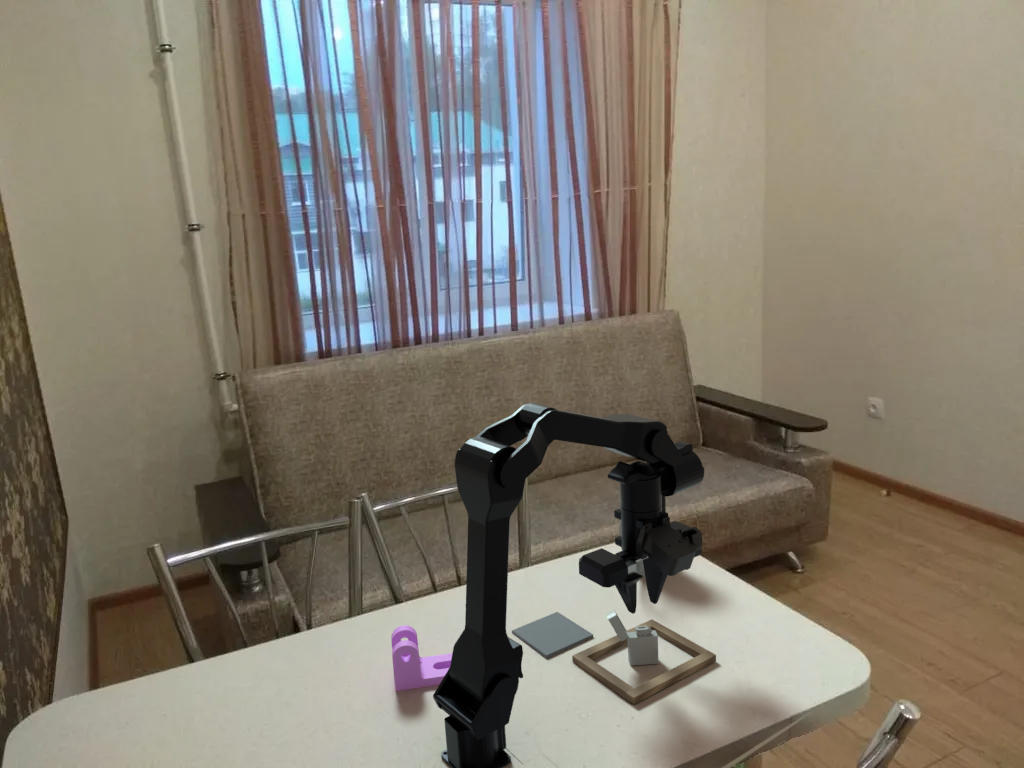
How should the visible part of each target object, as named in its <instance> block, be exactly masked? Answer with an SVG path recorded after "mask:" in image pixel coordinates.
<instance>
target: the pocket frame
mask: <svg viewBox="0 0 1024 768" xmlns="http://www.w3.org/2000/svg"><path fill="white" fill-rule="evenodd" d="M637 626H648V627H650V628H651V629H652V630H655V631H656V633H657V635H658V637H661V638H662V639H664V640H666V641H667V642H668V643H670V644H672V645H674V647H675V646H676V647H677V648H679V649H681V650H682V651H684V652H685V653H687V654H689V655H691V656H692V658H690V659H688V660H687V661H685V662H683V663H680V664H679V665H677V666H675V667H673V668H671V669H669V670H667V671H665V672H663V673H661V674H659V675H657V676H655V677H654V678H651V679H649V680H648V681H646V682H644V683H641V684H640V685H638V686H635V687H633V686H632V685H630V684H629V683H627V682H626V681H624V680H623V679H621V678H620V677H618V676H617V675H616V674H614V673H612V672H611V671H609V670H608V669H606V668H605V667H603V666H602V665H601V664H599V663H597V662H596V661H595V659H598V658H599V657H602V656H604V655H606V654H608V653H610V652H612V651H614V650H616V649H618V648H620V647H623V646H625V645H628V638H627V639H626V640H624V641H622V642H621V641H620V639H619V637H618V636H617V634H616V635H614V636H612V637H610V638H608V639H605V640H603V641H601V642H599V643H597V644H594V645H593V646H589V647H588V648H586V649H584V650H582V651H579V652H577V653H575V654H573V655H572V660H571V661H572V663H574V664H575V665H576V666H578V667H579V668H581V669H582V670H584V671H585V672H586V673H588V674H589V675H591V676H592V677H594V678H595V679H596V680H598V681H600V682H601V683H602V684H604V685H605V686H607V687H608V688H609V689H611V690H613V691H614V692H615V693H617V694H619V696H621V697H623V699H625V700H627V701H628V702H629V703H631V704H632V705H636V704H637V703H639V702H641V701H643V700H645V699H647V698H649V697H651V696H652V695H655V694H656V693H658V692H660V691H662V690H664V689H666V688H668V687H671V686H672V685H673V684H675V683H678V682H679V681H682V680H683V679H685V678H686V677H689V676H690V675H693V674H695V673H696V672H698V671H700V670H702V669H704V668H706V667H708V666H710V665H711V664H713V663H715V662H717V654H715V653H713V652H712V651H709V650H708V649H706V648H705V647H703V646H700V645H699V644H697V643H695V642H694V641H692V640H690V639H688V638H687V637H685V636H683V635H681V634H680V633H678V632H676V631H674V630H672V629H670V628H669V627H667V626H665V625H663V624H662V623H659V622H658V621H656V620H654V619H652V618H651V619H649V620H647V621H646V622H645V621H644V622H642V623H641V624H638V625H636V626H634V627H632V628H629V629H628V630H627V629H626V631H627V633H628V632H635V627H637Z"/></svg>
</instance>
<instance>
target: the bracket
mask: <svg viewBox="0 0 1024 768" xmlns="http://www.w3.org/2000/svg"><path fill="white" fill-rule="evenodd" d="M404 638H405V640H402V639H404ZM391 648H392V649H391V650H392V652H391V654H392V655H391V657H392V668H393V669H392V670H393V677H394V687H395V692H399V691H406V690H412V689H419V688H426V687H432V686H439V685H440V683H441V681H442V680H443V678H444V676H445V675H446V673H447V671H448V670H449V668H450V665H451V659H452V653H453V652H452V653H443V654H438V655H429V656H423V657H421V655H420V651H419V641H418V634H417V631H416V629H415V628H414V627H412V626H410V625H405V624H403V625H400V626H398V627H396V628H394V630H393V631H392V633H391Z"/></svg>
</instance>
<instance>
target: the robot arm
mask: <svg viewBox="0 0 1024 768" xmlns="http://www.w3.org/2000/svg"><path fill="white" fill-rule="evenodd" d="M668 433H669V432H668V426H667V425H666V423H664V422H663V421H661V420H657V419H651V418H648V417H643V416H639V415H634V414H630V413H617V414H616V413H615V414H610V415H608V416H597V415H596V416H595V415H591V414H584V413H579V412H573V411H568V410H562V409H557V408H555V407H550V406H547V405H544V404H539V403H535V402H528V403H526V404H523V405H521V406H520V407H519V408H518V409H517V410H516V411H514V412H513V413H512V414H511V415H509V416H507V417H505V418H503V419H501V420H499V421H497V422H494V423H493V424H490V425H488V426H487V427H485V428H483V430H481V431H480V432H479V433H478V434H476V436H474V437H471V438H469V439H468V440H467V441H465V442H464V443H463V444H462V446H461V447H460V448H458V449H457V451H456V453H455V458H454V471H455V479H456V486H457V491H458V493H459V496H460V498H461V500H462V503H463V505H464V508H465V510H466V512H467V517H468V519H467V543H466V544H467V546H466V547H467V550H466V554H467V555H466V580H465V581H466V584H465V586H466V587H465V588H466V589H465V618H464V619H465V625H464V629H463V631H462V632H461V633H460V635H459V637H458V638H457V640H456V641H455V643H454V644H453V648H452V659H451V665H450V668H449V670H448V671H447V673H446V675H445V676H444V678H443V680H442V681H441V683H440V685H437V688H436V689H435V691H434V693H433V695H432V698H433V700H434V702H435V704H436V705H437V707H438V708H439V709H440V710H443V711H444V713H446V714H448V716H446V717H445V718H444V730H445V731H444V733H445V741H446V742H445V743H446V749H445V750H443V751H442V752H441V753H440V755H441V756H440V757H441V759H442V760H444V762H445V763H446V764H447V766H449V767H450V768H503V767H505V766H507V765H508V764H510V763H512V757H511V755H509V753H507V752H506V751H505V749H507V739H506V738H507V737H506V726H507V725H508V724H509V723H510V718H511V715H512V710H513V705H514V701H515V697H516V695H517V691H518V689H519V683H520V679H523V678H524V674H523V671H522V661H523V656H524V650H523V644H520V643H519V642H517V641H515V640H514V639H512V638H511V637H509V636H508V633H507V612H508V611H507V608H508V605H507V604H508V584H509V583H508V579H509V578H508V575H509V554H510V553H509V552H510V551H509V550H510V549H509V548H510V529H511V528H510V527H511V526H510V523H511V522H510V521H511V517H512V515H513V513H514V511H515V510H516V508H517V507H518V505H519V504H520V503H521V501H522V499H523V496H524V490H525V485H526V480H527V478H528V477H530V476H531V474H533V473H534V471H536V470H537V469H538V468H539V467H540V466H541V464H542V463H543V460H544V458H545V455H546V454H547V453H546V452H547V450H548V448H549V445H551V444H552V443H553V442H554V441H562V442H568V443H573V444H581V445H587V446H593V447H594V446H595V447H600V448H603V449H606V450H608V451H611V452H613V453H614V454H618V455H622V456H625V457H628V458H632V459H634V460H635V461H633V462H630V463H627V462H623V461H619V460H618V462H617V464H615V467H613V468H612V469H610V471H609V472H608V473H607V478H608V479H609V480H612V481H614V482H617V483H619V507H620V508H617V509H614V511H613V514H614V518H616V519H618V520H621V536H615V538H614V544H615V545H616V546H618V547H620V548H621V547H622V548H621V550H620V551H618V552H616V553H612V552H610V551H609V550H606V549H605V548H602V547H601V548H599V549H597V550H593V551H591V552H588V553H585V554H582V556H580V558H579V559H578V573H579V575H580V576H582V577H584V578H586V579H588V580H589V581H591V582H593V583H595V584H597V585H599V586H600V587H602V588H612V587H615V588H616V590H617V591H618V593H619V595H620V597H621V600H622V601H623V603H624V605H625V608H626V609H627V611H628V613H631V614H633V615H634V614H635V613H636V611H637V599H638V597H637V596H638V595H637V593H638V592H637V591H638V590H637V588H638V582H639V581H641V579H643V576H642V575H640V574H638V573H636V562H639V561H641V560H643V565H644V572H645V583H646V589H647V594H648V599H649V602H650V603H652V604H654V605H656V604H658V602H659V600H660V596H661V594H662V591H663V588H664V587H665V586H664V585H665V583H666V579H667V577H674V576H676V575H677V574H678V573H681V572H683V571H688V570H690V569H691V567H692V564H693V561H694V558H696V557H700V556H702V553H703V551H702V549H703V536H702V535H703V533H702V531H701V530H700V529H698V527H696V526H689V525H687V524H685V523H682V522H680V521H677V520H673V521H671V517H670V516H669V513H668V512H667V511H666V512H664V511H662V495H663V496H665V497H671V496H675V495H676V494H679V493H682V492H684V491H686V490H690V489H691V488H694V487H697V486H698V485H700V484H701V483H702V481H703V480H704V478H705V468H704V467H705V466H704V465H703V463H702V461H701V459H700V457H699V456H698V454H696V452H694V451H693V449H694V448H693V443H691V442H686V441H683V440H680V441H678V442H675V443H674V441H673V439H672V438H671V436H670V435H669V434H668ZM525 439H526V440H525ZM523 440H525V441H524V442H523V443H522V444H521V445H520V446H519V447H517V448H516V447H513V445H514V444H516V443H519V442H521V441H523ZM636 460H637V461H636Z"/></svg>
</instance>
